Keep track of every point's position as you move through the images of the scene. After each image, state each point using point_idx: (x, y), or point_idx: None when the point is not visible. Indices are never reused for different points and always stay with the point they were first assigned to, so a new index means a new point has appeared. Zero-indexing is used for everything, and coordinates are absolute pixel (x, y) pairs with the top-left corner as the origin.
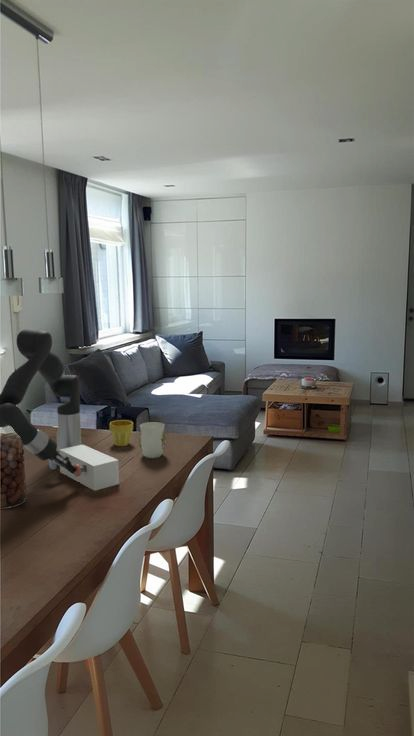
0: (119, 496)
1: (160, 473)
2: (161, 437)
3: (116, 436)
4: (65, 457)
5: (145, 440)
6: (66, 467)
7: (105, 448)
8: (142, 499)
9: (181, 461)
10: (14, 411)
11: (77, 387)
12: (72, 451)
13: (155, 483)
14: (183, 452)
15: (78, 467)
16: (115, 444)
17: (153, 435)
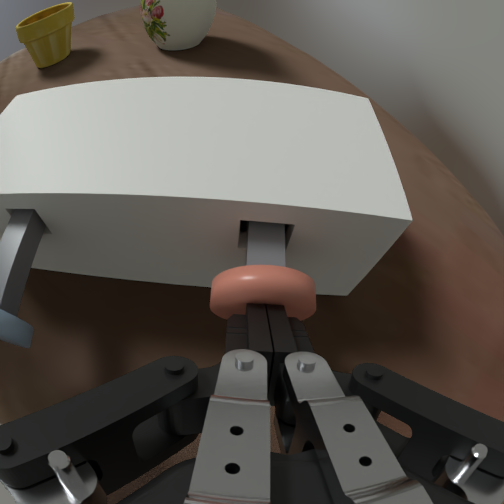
0: (446, 258)
1: (317, 83)
2: None
3: (45, 45)
4: (369, 418)
5: (185, 5)
6: (399, 440)
7: (31, 85)
8: (484, 226)
9: (270, 38)
10: None
11: None
12: (19, 157)
13: (387, 129)
14: (221, 21)
15: (308, 292)
16: (43, 65)
17: None
